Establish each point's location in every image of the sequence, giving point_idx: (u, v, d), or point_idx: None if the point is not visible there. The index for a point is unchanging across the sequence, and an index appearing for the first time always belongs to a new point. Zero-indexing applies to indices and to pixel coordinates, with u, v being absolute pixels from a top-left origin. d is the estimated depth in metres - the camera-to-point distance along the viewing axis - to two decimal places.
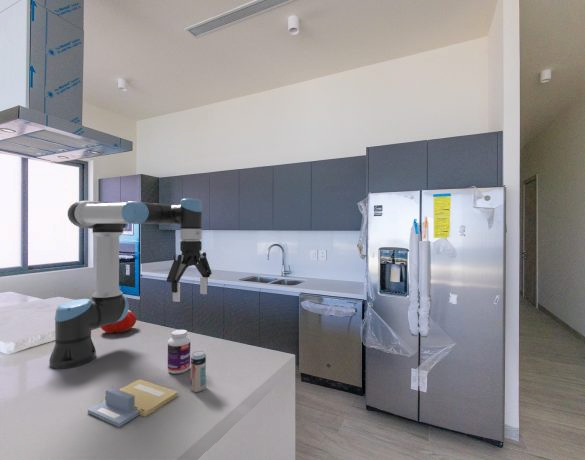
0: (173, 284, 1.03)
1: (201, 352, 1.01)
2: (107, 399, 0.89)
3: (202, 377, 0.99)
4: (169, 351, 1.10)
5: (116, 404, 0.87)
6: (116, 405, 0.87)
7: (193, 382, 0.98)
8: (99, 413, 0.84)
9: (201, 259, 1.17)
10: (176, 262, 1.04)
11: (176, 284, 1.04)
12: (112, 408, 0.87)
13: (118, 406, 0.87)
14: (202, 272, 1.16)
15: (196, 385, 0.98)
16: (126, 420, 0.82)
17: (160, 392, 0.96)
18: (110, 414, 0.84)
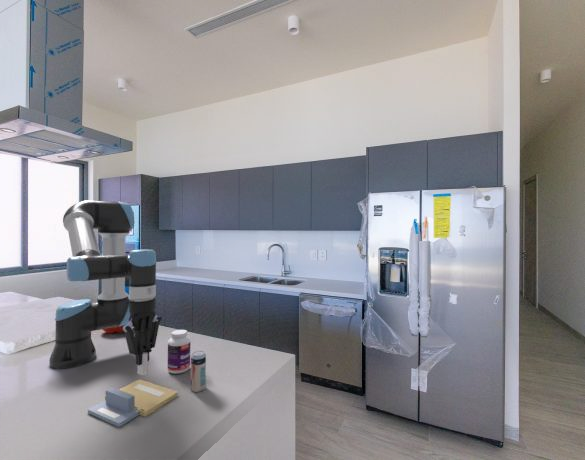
0: (137, 356, 0.92)
1: (201, 352, 1.01)
2: (107, 399, 0.89)
3: (202, 377, 0.99)
4: (169, 351, 1.10)
5: (116, 404, 0.87)
6: (116, 405, 0.87)
7: (193, 382, 0.98)
8: (99, 413, 0.84)
9: (152, 323, 0.98)
10: (128, 334, 0.89)
11: (141, 355, 0.93)
12: (112, 408, 0.87)
13: (118, 406, 0.87)
14: (145, 342, 0.95)
15: (196, 385, 0.98)
16: (126, 420, 0.82)
17: (160, 392, 0.96)
18: (110, 414, 0.84)
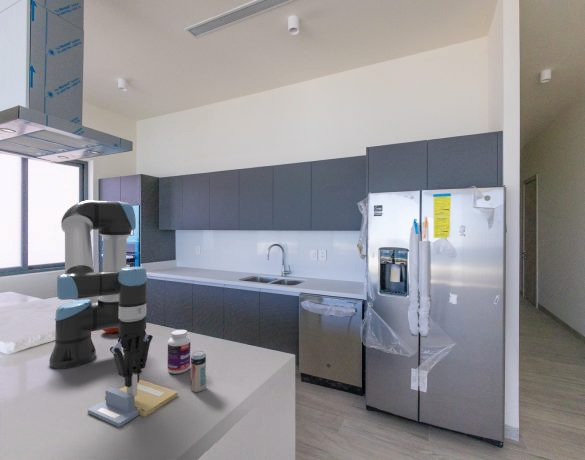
0: (126, 377, 0.89)
1: (201, 352, 1.01)
2: (107, 399, 0.89)
3: (202, 377, 0.99)
4: (169, 351, 1.10)
5: (116, 404, 0.87)
6: (116, 405, 0.87)
7: (193, 382, 0.98)
8: (99, 413, 0.84)
9: (143, 343, 0.95)
10: (117, 356, 0.86)
11: (130, 377, 0.90)
12: (112, 408, 0.87)
13: (118, 406, 0.87)
14: (135, 363, 0.92)
15: (196, 385, 0.98)
16: (126, 420, 0.82)
17: (160, 392, 0.96)
18: (110, 414, 0.84)
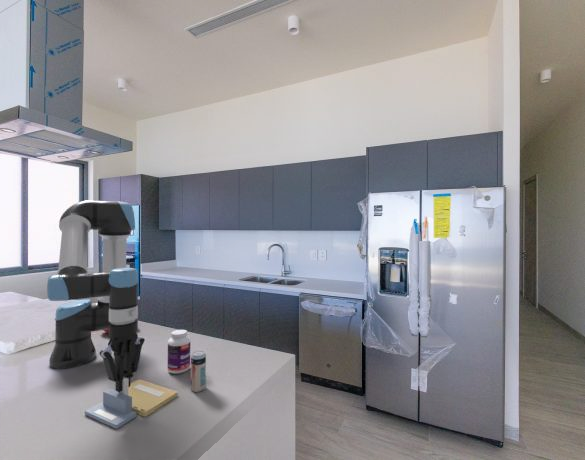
0: (117, 382, 0.87)
1: (201, 352, 1.01)
2: (104, 400, 0.88)
3: (202, 377, 0.99)
4: (169, 351, 1.10)
5: (113, 406, 0.86)
6: (113, 406, 0.86)
7: (193, 382, 0.98)
8: (96, 415, 0.84)
9: (134, 346, 0.92)
10: (107, 360, 0.84)
11: (121, 381, 0.87)
12: (109, 410, 0.86)
13: (115, 407, 0.86)
14: (126, 367, 0.89)
15: (196, 385, 0.98)
16: (123, 422, 0.81)
17: (160, 392, 0.96)
18: (108, 416, 0.83)
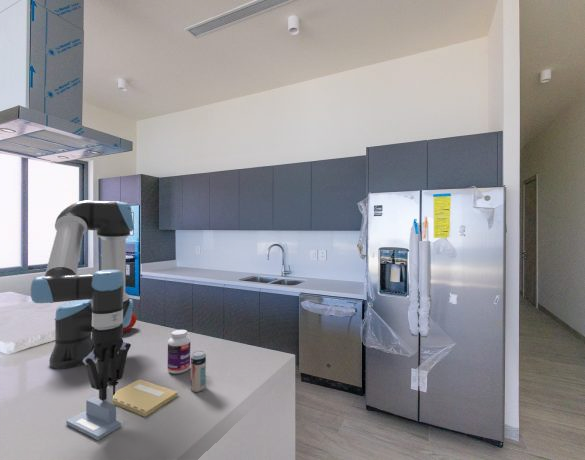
0: (101, 390, 0.82)
1: (201, 352, 1.01)
2: (87, 409, 0.84)
3: (202, 377, 0.99)
4: (169, 351, 1.10)
5: (97, 415, 0.82)
6: (97, 416, 0.82)
7: (193, 382, 0.98)
8: (78, 425, 0.79)
9: (120, 352, 0.88)
10: (89, 367, 0.79)
11: (105, 389, 0.83)
12: (92, 419, 0.82)
13: (99, 417, 0.81)
14: (110, 374, 0.85)
15: (196, 385, 0.98)
16: (106, 432, 0.77)
17: (160, 392, 0.96)
18: (90, 426, 0.79)
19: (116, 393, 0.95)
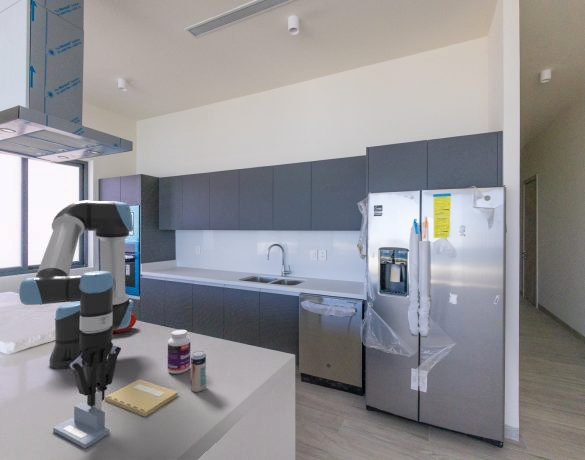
0: (89, 396, 0.80)
1: (201, 352, 1.01)
2: (75, 416, 0.81)
3: (202, 377, 0.99)
4: (169, 351, 1.10)
5: (85, 421, 0.79)
6: (85, 422, 0.79)
7: (193, 382, 0.98)
8: (65, 432, 0.77)
9: (110, 356, 0.85)
10: (76, 373, 0.77)
11: (93, 395, 0.80)
12: (80, 426, 0.79)
13: (87, 424, 0.79)
14: (99, 379, 0.82)
15: (196, 385, 0.98)
16: (94, 440, 0.74)
17: (160, 392, 0.96)
18: (77, 433, 0.76)
19: (116, 393, 0.95)
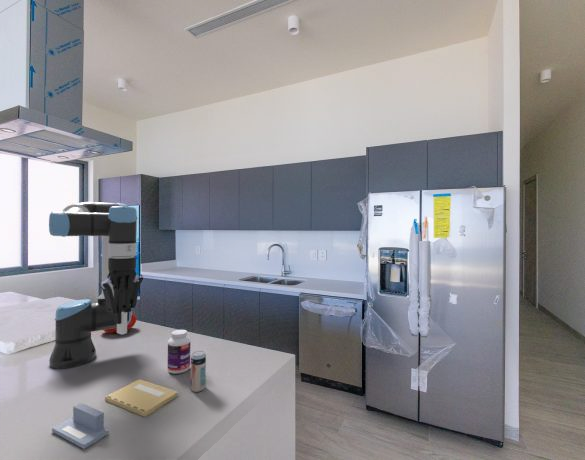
0: (116, 314, 0.90)
1: (201, 352, 1.01)
2: (74, 416, 0.81)
3: (202, 377, 0.99)
4: (169, 351, 1.10)
5: (84, 422, 0.79)
6: (84, 423, 0.79)
7: (193, 382, 0.98)
8: (64, 432, 0.76)
9: (133, 284, 0.96)
10: (106, 291, 0.87)
11: (120, 314, 0.91)
12: (79, 426, 0.79)
13: (86, 424, 0.78)
14: (125, 302, 0.92)
15: (196, 385, 0.98)
16: (93, 441, 0.74)
17: (160, 392, 0.96)
18: (76, 434, 0.76)
19: (116, 393, 0.95)
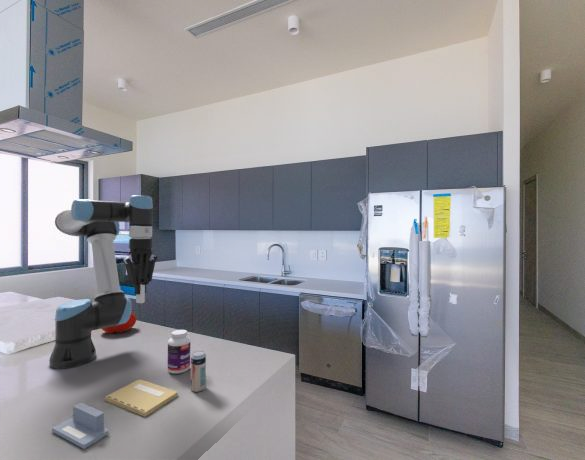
0: (136, 286, 1.07)
1: (201, 352, 1.01)
2: (74, 416, 0.81)
3: (202, 377, 0.99)
4: (169, 351, 1.10)
5: (84, 422, 0.79)
6: (84, 423, 0.79)
7: (193, 382, 0.98)
8: (64, 432, 0.76)
9: (149, 261, 1.13)
10: (128, 266, 1.04)
11: (139, 286, 1.08)
12: (79, 426, 0.79)
13: (86, 424, 0.78)
14: (143, 276, 1.10)
15: (196, 385, 0.98)
16: (93, 441, 0.74)
17: (160, 392, 0.96)
18: (76, 434, 0.76)
19: (116, 393, 0.95)
